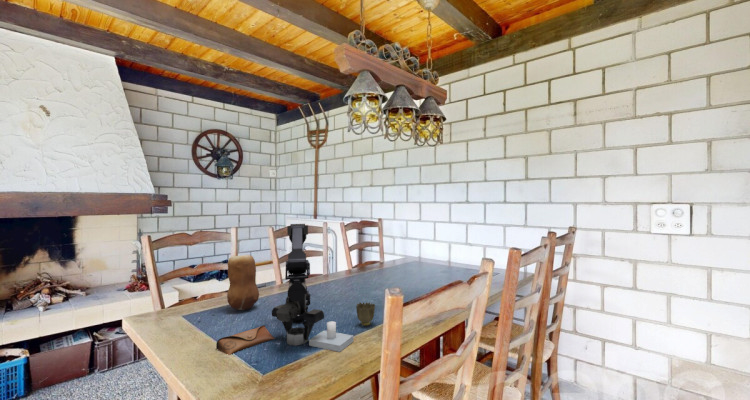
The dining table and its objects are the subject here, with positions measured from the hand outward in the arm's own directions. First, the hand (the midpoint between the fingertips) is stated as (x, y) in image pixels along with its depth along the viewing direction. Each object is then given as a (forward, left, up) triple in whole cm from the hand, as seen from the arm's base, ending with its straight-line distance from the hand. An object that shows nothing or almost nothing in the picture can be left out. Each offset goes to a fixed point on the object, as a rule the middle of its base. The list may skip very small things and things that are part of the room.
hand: (297, 338), depth 115 cm
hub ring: (0, 0, -1) cm, 1 cm away
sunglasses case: (-15, -9, -2) cm, 17 cm away
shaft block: (+12, +3, -1) cm, 12 cm away
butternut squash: (-45, +18, -1) cm, 48 cm away
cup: (+15, +23, -1) cm, 27 cm away
